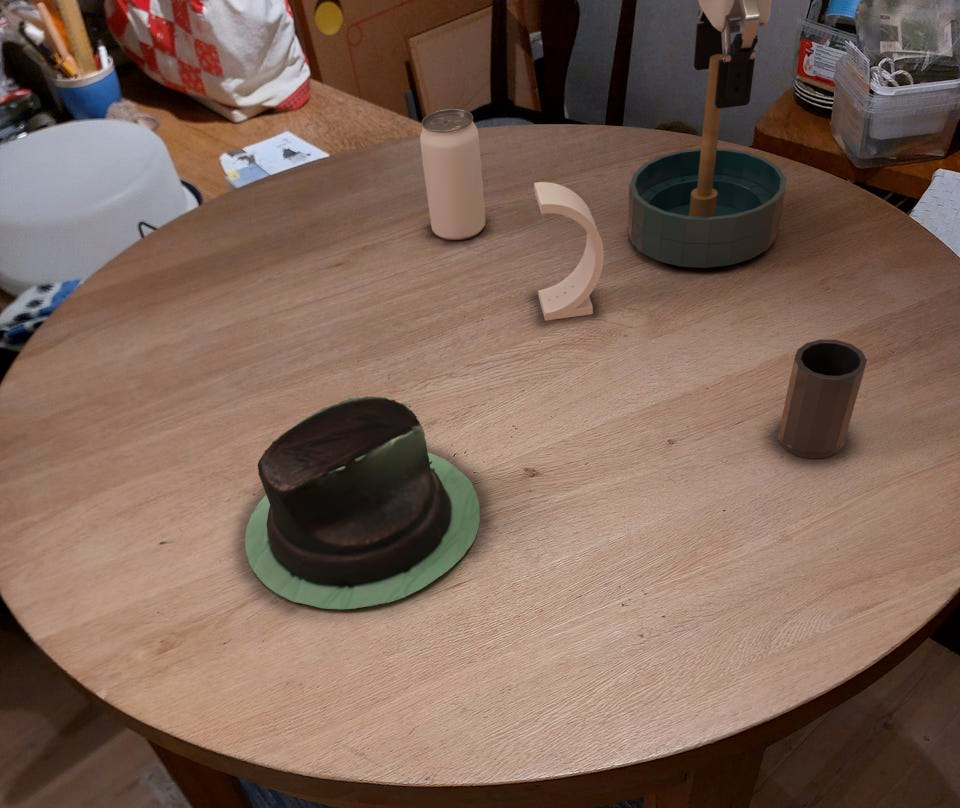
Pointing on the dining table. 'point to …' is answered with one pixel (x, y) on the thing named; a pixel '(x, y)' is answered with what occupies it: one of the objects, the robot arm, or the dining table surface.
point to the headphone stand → (577, 287)
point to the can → (453, 174)
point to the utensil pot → (821, 398)
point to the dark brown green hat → (358, 508)
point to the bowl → (705, 240)
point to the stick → (708, 150)
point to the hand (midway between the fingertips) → (720, 86)
